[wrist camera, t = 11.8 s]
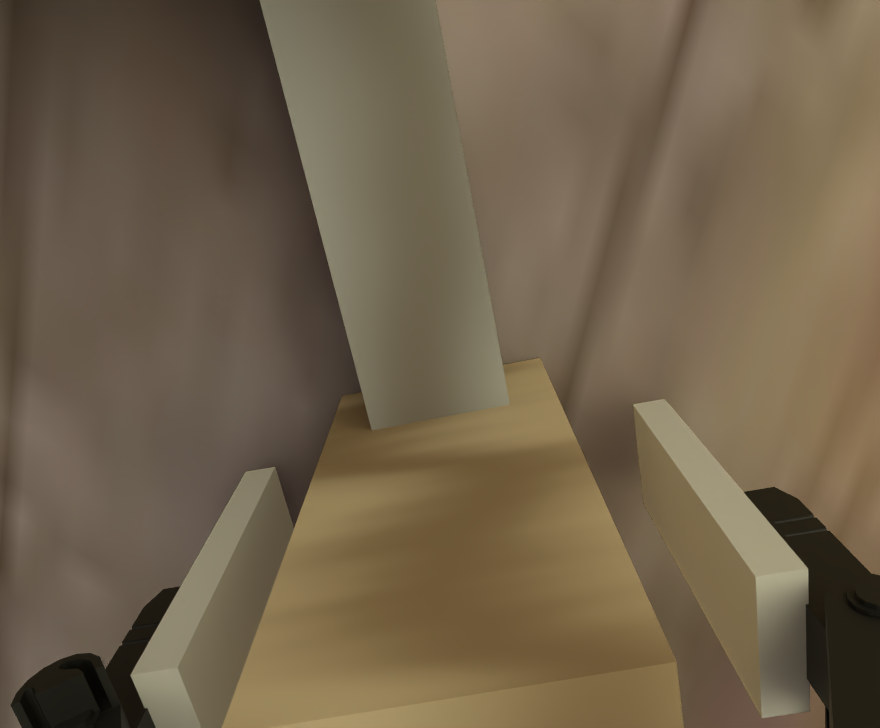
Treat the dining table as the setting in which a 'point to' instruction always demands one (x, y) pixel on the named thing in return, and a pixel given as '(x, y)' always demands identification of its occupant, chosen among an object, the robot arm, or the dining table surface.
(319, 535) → the tool
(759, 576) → the robot arm
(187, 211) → the dining table surface
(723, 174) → the dining table surface
